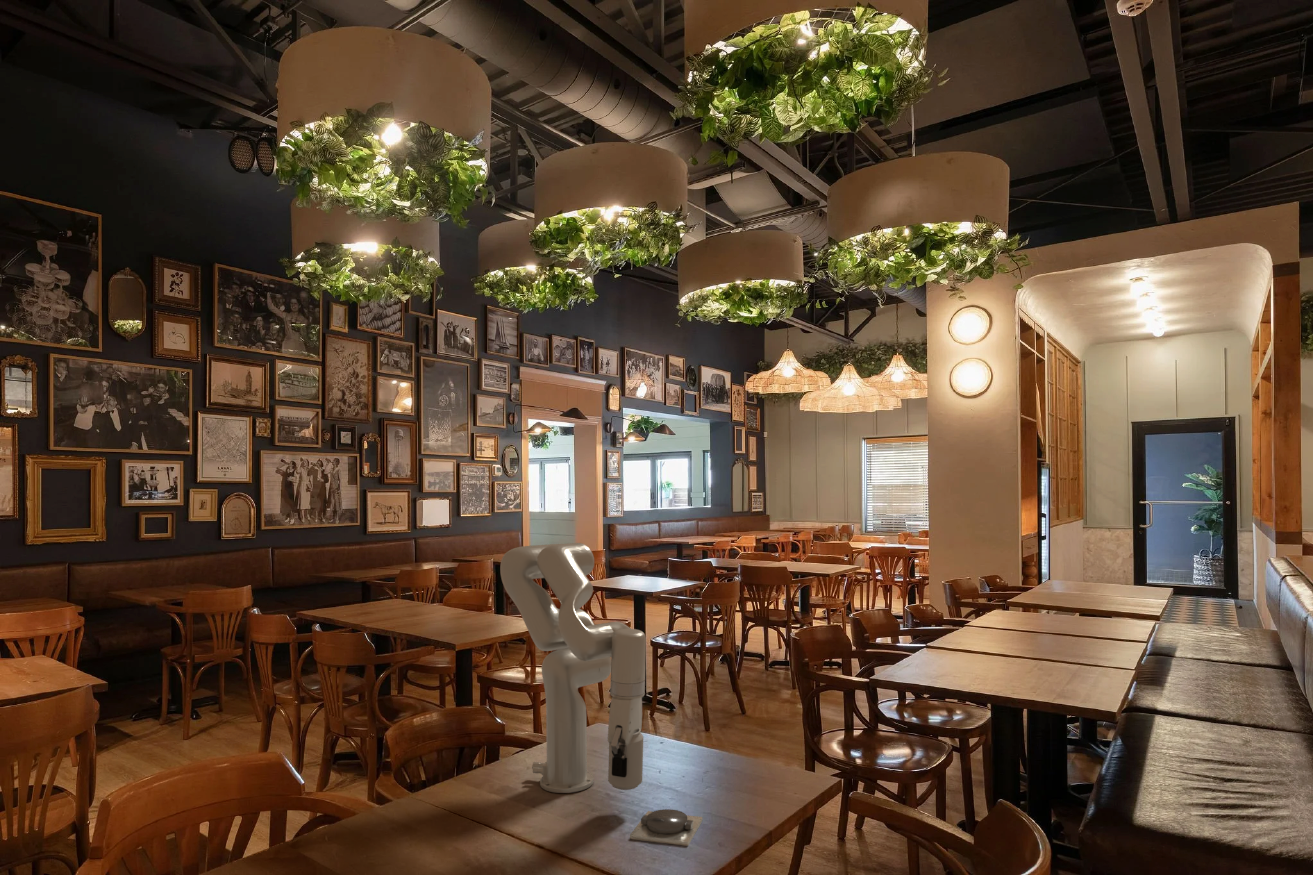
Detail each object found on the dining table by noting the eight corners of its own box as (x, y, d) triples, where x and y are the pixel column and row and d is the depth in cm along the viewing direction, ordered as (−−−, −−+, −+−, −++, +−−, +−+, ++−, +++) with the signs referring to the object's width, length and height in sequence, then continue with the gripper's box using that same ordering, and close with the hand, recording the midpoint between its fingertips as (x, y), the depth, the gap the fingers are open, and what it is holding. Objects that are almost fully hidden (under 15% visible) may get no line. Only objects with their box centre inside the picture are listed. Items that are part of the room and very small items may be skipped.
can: (648, 781, 174) (649, 726, 174) (632, 794, 167) (634, 737, 167) (617, 774, 177) (619, 720, 177) (601, 787, 170) (603, 731, 170)
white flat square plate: (630, 838, 158) (629, 826, 158) (648, 814, 169) (647, 803, 169) (688, 846, 154) (687, 833, 154) (702, 820, 166) (702, 809, 166)
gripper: (624, 674, 181) (622, 751, 181) (597, 697, 165) (594, 782, 165) (655, 678, 179) (653, 756, 179) (631, 701, 163) (628, 787, 162)
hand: (625, 768), depth 172 cm, fingers closed on can, 7 cm apart
